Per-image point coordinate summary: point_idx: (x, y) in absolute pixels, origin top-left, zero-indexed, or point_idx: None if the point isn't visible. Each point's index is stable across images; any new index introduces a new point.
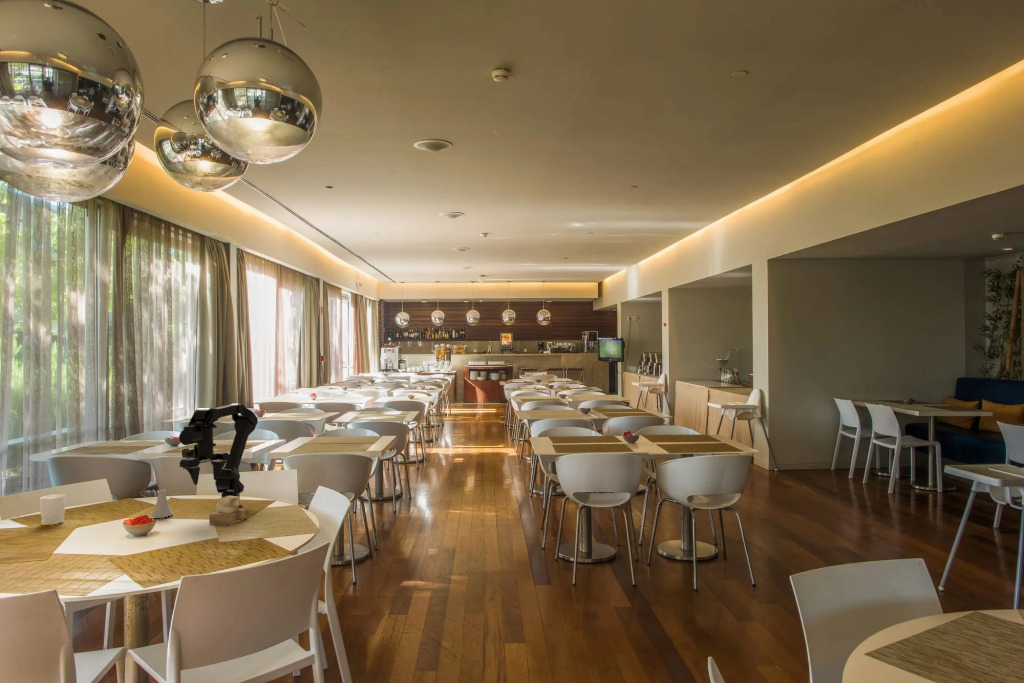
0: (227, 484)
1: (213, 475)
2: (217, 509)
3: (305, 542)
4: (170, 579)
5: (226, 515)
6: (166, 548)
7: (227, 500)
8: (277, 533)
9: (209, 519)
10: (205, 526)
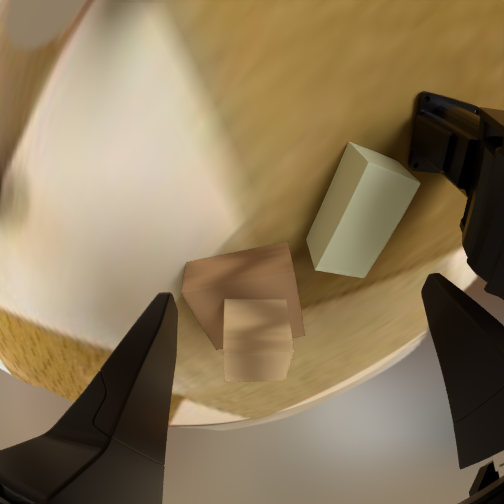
0: (471, 249)
1: (453, 304)
2: (351, 160)
3: (205, 424)
4: (34, 385)
5: (210, 337)
6: (30, 325)
7: (225, 377)
8: (218, 400)
9: (184, 275)
10: (158, 274)
